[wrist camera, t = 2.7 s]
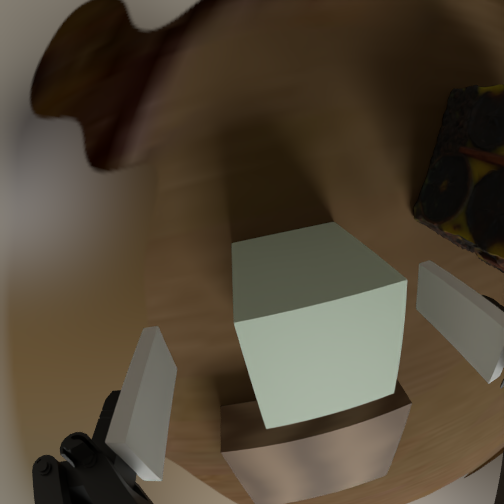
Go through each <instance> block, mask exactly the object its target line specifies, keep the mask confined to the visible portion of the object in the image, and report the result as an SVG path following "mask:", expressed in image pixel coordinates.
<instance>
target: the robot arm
mask: <svg viewBox="0 0 504 504" xmlns="http://www.w3.org/2000/svg"><path fill="white" fill-rule="evenodd" d="M416 309H417V310H418V311H419V312H420V313H421V314H422V315H423V316H424V317H425V318H426V319H427V320H428V321H429V322H430V323H431V324H432V325H433V326H434V327H435V328H436V329H437V330H438V331H439V332H440V333H441V334H442V335H443V336H444V337H445V338H446V339H447V340H448V341H449V342H450V343H451V344H452V345H453V346H454V347H455V348H456V349H457V350H458V351H459V352H460V353H461V354H462V356H463V357H464V358H465V359H466V360H467V361H468V362H469V363H470V364H471V365H472V366H473V367H474V368H475V369H476V370H477V372H478V373H479V374H480V375H481V376H482V377H483V378H484V379H485V380H486V382H487V383H488V384H489V383H491V382H492V381H493V380H495V379H496V378H498V377H499V376H500V374H501V372H502V370H503V367H504V307H503V306H502V305H499V303H498V302H497V301H495V300H494V299H492V298H490V297H487V296H485V295H480V294H479V293H477V292H476V291H475V290H473V289H472V288H470V287H469V286H468V285H466V284H465V283H463V282H462V281H460V280H459V279H457V278H456V277H455V276H453V275H452V274H450V273H449V272H447V271H446V270H444V269H443V268H441V267H440V266H438V265H437V264H435V263H434V262H432V261H430V260H429V261H426V262H423V263H420V264H419V275H418V290H417V302H416ZM176 373H177V367H176V365H175V363H174V361H173V359H172V356H171V354H170V352H169V350H168V348H167V345H166V343H165V341H164V339H163V336H162V334H161V332H160V329H159V327H158V326H155V327H149V328H144V329H143V331H142V334H141V337H140V339H139V342H138V345H137V347H136V350H135V353H134V355H133V358H132V361H131V363H130V366H129V369H128V372H127V375H126V378H125V381H124V384H123V387H122V389H121V390H118V391H112V393H111V394H110V395H109V396H108V397H107V398H106V400H105V403H104V405H103V408H102V411H101V414H100V419H98V422H97V425H96V428H95V431H94V434H93V437H92V440H91V439H90V437H89V436H88V435H87V434H84V433H82V432H75V433H73V434H70V435H69V436H67V437H66V438H65V439H64V440H63V442H62V443H61V447H60V454H61V455H62V457H64V458H65V459H66V460H67V461H63V462H58V461H57V460H56V459H55V458H54V457H53V456H50V455H43V456H41V457H39V458H38V459H37V460H36V461H35V463H34V465H33V470H32V473H33V488H34V499H35V504H153V503H152V501H151V500H150V499H149V498H148V496H147V495H146V494H145V493H144V491H143V490H142V489H141V487H140V486H139V485H138V484H137V483H136V482H135V480H136V474H137V475H138V476H139V477H140V478H142V479H143V480H145V481H162V478H163V468H164V459H165V451H166V443H167V435H168V427H169V420H170V413H171V406H172V399H173V392H174V386H175V379H176ZM503 386H504V379H503V381H502V383H501V386H500V388H503ZM494 504H504V452H503V460H502V467H501V473H500V479H499V484H498V490H497V495H496V499H495V503H494Z"/></svg>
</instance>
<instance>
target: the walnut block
mask: <svg viewBox="0 0 504 504" xmlns="http://www.w3.org/2000/svg"><path fill="white" fill-rule="evenodd" d="M411 404H412V402H411V401H410V399H409V398H408V396H407V394H406V393H405V391H404V390H403V388H402V386H401V385H400V383H399V382H398V380H396V385H395V391H394V393H393V394H391V395H388V396H385V397H383V398H380V399H377V400H374V401H371V402H368V403H365V404H362V405H359V406H356V407H353V408H350V409H347V410H344V411H340V412H337V413H333V414H330V415H326V416H322V417H319V418H315V419H311V420H307V421H302V422H298V423H294V424H289V425H284V426H279V427H274V428H269V429H266V427H265V424H264V421H263V417H262V414H261V411H260V408H259V405H258V402H257V401H251V402H245V403H239V404H233V405H226V406H221V453H222V455H223V457H224V458H225V460H226V461H227V463H228V465H229V466H230V468H231V469H232V471H233V472H234V474H235V475H236V477H237V478H238V480H239V481H240V483H241V484H242V486H243V487H244V489H245V490H246V492H247V493H248V494H249V496H250V497H251V499H252V500H253V501H254V503H255V504H285V503H290V502H295V501H300V500H305V499H310V498H314V497H318V496H322V495H326V494H330V493H334V492H337V491H341V490H344V489H348V488H351V487H354V486H357V485H360V484H363V483H366V482H369V481H372V480H375V479H377V478H380V477H383V476H385V475H387V472H388V470H389V467H390V465H391V463H392V460H393V458H394V455H395V452H396V450H397V447H398V444H399V442H400V439H401V436H402V433H403V430H404V427H405V424H406V421H407V418H408V414H409V411H410V408H411Z"/></svg>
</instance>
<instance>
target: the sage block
mask: <svg viewBox="0 0 504 504" xmlns="http://www.w3.org/2000/svg"><path fill="white" fill-rule="evenodd" d="M232 280H233V313H234V325H235V329H236V332H237V336H238V339H239V342H240V346H241V349H242V353H243V356H244V359H245V363H246V366H247V369H248V373H249V376H250V379H251V382H252V386H253V389H254V392H255V395H256V399H257V402H258V405H259V408H260V411H261V414H262V417H263V421H264V424H265V427H266V429H269V428H274V427H279V426H284V425H289V424H294V423H298V422H302V421H307V420H311V419H315V418H319V417H322V416H326V415H330V414H333V413H337V412H340V411H344V410H347V409H350V408H353V407H356V406H359V405H362V404H365V403H368V402H371V401H374V400H377V399H380V398H383V397H385V396H388V395H391V394H393V393H394V391H395V385H396V380H397V374H398V368H399V361H400V354H401V347H402V339H403V330H404V320H405V308H406V294H407V279H406V278H405V277H404V276H402V275H401V274H400V273H399V272H398V271H396V270H395V269H394V268H393V267H391V266H390V265H389V264H388V263H387V262H385V261H384V260H383V259H382V258H380V257H379V256H378V255H377V254H375V253H374V252H373V251H372V250H370V249H369V248H368V247H367V246H365V245H364V244H363V243H361V242H360V241H359V240H358V239H356V238H355V237H354V236H352V235H351V234H350V233H348V232H347V231H346V230H344V229H343V228H342V227H341V226H339V225H338V224H337V223H335V222H330V223H325V224H320V225H315V226H311V227H306V228H301V229H296V230H291V231H287V232H282V233H277V234H272V235H268V236H263V237H258V238H254V239H249V240H244V241H240V242H235V243H232Z"/></svg>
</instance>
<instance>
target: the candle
mask: <svg viewBox="0 0 504 504" xmlns="http://www.w3.org/2000/svg"><path fill="white" fill-rule="evenodd" d="M414 219H415V220H416V221H418V222H419V223H421V224H424V225H426V226H427V227H429V228H430V229H432V230H434V231H435V232H436V233H437V234H438V235H439V234H440V235H441V236H442V237H444V238H446V239H448V240H450V241H451V242H452V243H454V244H456V245H457V246H458V247H459V246H460V247H461V248H462V249H466V250H467V251H471V252H472V253H473V252H475V253H476V255H477V256H478V258H479V259H481V260H482V261H484V262H485V263H486V264H488V265H492V266H493V267H494V268H497V269H498V270H500V271H501V272H503V273H504V85H501V84H500V85H496V86H491V87H479V86H478V85H474V86H469V87H466V88H462V89H455V88H454V89H453V90H452V92H451V94H450V97H449V99H448V105H447V110H446V111H445V113H444V117H443V126H442V127H441V130H440V133H439V136H438V142H437V145H436V147H435V149H434V155H433V157H432V159H431V163H430V167H429V171H428V174H427V178H426V180H425V182H424V184H423V187H422V189H421V192H420V196H419V199H418V202H417V203H416V204H415V206H414Z"/></svg>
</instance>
